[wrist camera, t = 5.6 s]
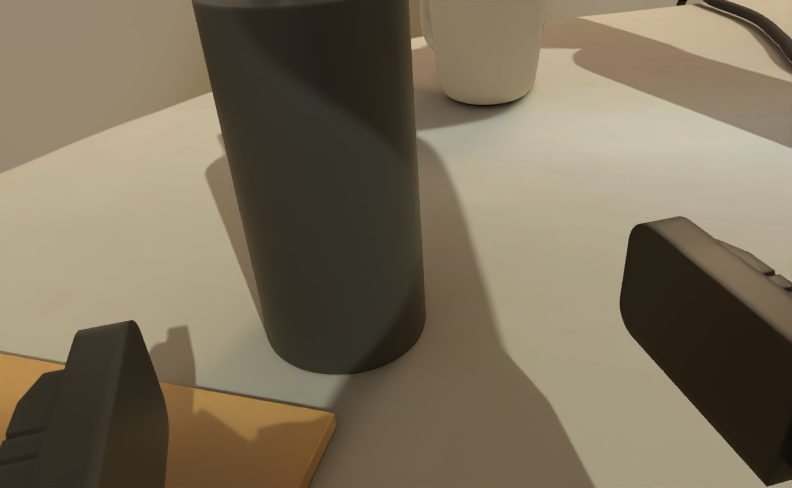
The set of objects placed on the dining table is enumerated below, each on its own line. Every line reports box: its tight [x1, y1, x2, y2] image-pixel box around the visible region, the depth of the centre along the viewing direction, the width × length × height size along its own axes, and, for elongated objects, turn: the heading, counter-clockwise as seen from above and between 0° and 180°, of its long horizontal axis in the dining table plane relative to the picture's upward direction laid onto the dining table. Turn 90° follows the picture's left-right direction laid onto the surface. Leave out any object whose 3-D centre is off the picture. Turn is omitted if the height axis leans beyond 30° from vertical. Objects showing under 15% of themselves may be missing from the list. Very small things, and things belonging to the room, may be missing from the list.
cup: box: [420, 0, 547, 105], centre depth 43 cm, size 11×8×8 cm
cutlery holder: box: [192, 0, 426, 374], centre depth 19 cm, size 6×6×17 cm
